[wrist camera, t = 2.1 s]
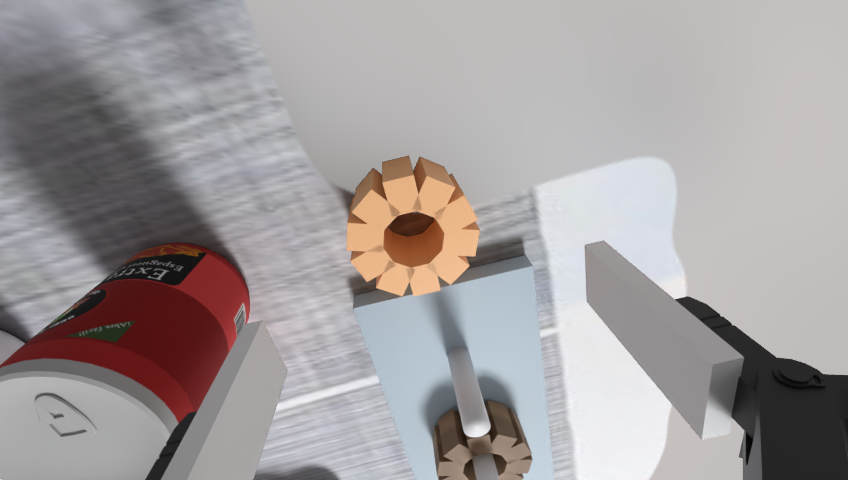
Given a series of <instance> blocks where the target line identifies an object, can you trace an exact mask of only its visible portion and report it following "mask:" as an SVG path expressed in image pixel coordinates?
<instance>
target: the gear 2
mask: <svg viewBox="0 0 848 480" xmlns="http://www.w3.org/2000/svg"><path fill="white" fill-rule="evenodd" d="M485 408H486V411H487V415H488V418H489V422H490V425H491V427H490V430H489V431H488V432H487V433H486V434H485V435H483V436H480V437H469V436H467V435H466V434H465V433H464V431H463V426H462V422H461V417H460V413H459V412H457V411H455V410H454V409H451V410H450V411H448V412H447V413H446V414H445V415H444V416H443V417H441V418H440V419H439V420H438V424H439V426H434V432H433V438H432V441H433V449H434V457H435V464H436V472H437V476H438V480H477V479H476V475H475V470H474V466H473V461H472V458H473V457H474V456H477V455H481V454H485V453H492V454H493V458H494V461H495V465H496V468H497V472H498V476H499V479H500V480H523V479H524V478H523V475H522V474H525V473H528V472H529V469H530V466H531V463H532V460H533V459H532V456H531V454H532V453H531V450H530V447H529V445H528V442H527V439H526V437H525V434H524V431H523V429H522V426H521V423H520V421H519V419H518V417H517V416H516V414H515V413H514V412H513V410H512V409H511V408H510V409H508V410H507V408H506V405H505V404H501V403H497V402H493V401H489V400H487V402H486V403H485Z"/></svg>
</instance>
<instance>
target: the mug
mask: <svg viewBox="0 0 848 480" xmlns="http://www.w3.org/2000/svg"><path fill="white" fill-rule="evenodd" d="M24 344H25V343H24V342H22V341H21V340H19V339H18V338H16V337H14V336H12V335H11V334H8V333H6V332H4V331H1V330H0V365H1V364H2V363H3V362H4V361H6V360H7V359H8V358H9V357H10V356H11V355H12V354H13V353H14V352H16V351H17V350H18V349H19V348H21V347H22V346H23V345H24Z"/></svg>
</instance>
